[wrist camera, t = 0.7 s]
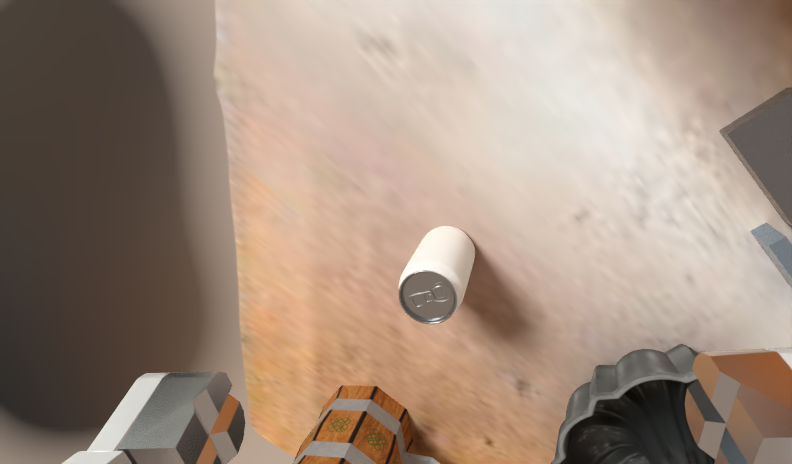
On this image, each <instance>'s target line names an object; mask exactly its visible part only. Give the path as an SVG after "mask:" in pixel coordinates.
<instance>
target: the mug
mask: <svg viewBox="0 0 792 464" xmlns="http://www.w3.org/2000/svg"><path fill="white" fill-rule="evenodd" d="M412 441H413V439H412V434H411V429H410V424H409V418H408V413H407V409H405V408H404V407H403V406H402V405H400V404H399V403H398V402H396V401H395V400H394V399H392V398H391V397H390V396H389V395H387V394H386V393H385V392H383V391H382V390H381V389H380V388H378V387H377V386H341V387H340V388H339V390H338V391H337V392H336V393H335V394H334V395H333V396H332V398H331V399H330V400H329V401H328V402H327V403H326V404H325V406H324V407H323V410H322V412H321V415H320V417H319V419H318V421H317V423H316V424H315V426H314V428H313V429H312V431H311V432H310V434H309V435H308V436H307V438H306V439H305V441H304V442H303V443H302V445H301V447H300V449H299V451H298V453H297V456H296V458H295V460H294V462H293V464H441V463H439V462H438V461H437V460H435V459H434V458H433V457H429V456H423V455H418V454H413V453H409V452H407V451H408V449H409V447H410V445H411V443H412Z"/></svg>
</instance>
